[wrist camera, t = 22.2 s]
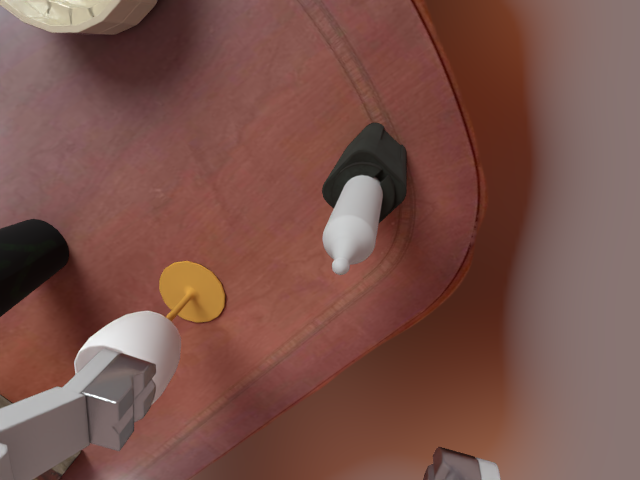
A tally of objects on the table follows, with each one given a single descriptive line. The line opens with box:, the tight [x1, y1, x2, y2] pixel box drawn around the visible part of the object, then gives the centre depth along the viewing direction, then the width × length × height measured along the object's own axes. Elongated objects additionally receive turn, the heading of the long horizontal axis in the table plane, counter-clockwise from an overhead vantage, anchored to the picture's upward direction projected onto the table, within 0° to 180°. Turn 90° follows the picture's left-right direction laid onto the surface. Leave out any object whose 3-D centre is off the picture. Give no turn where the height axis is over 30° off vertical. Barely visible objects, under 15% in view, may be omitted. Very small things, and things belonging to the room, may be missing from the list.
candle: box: [322, 123, 406, 275], centre depth 31 cm, size 5×5×25 cm
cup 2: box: [74, 261, 226, 405], centre depth 46 cm, size 9×9×16 cm
